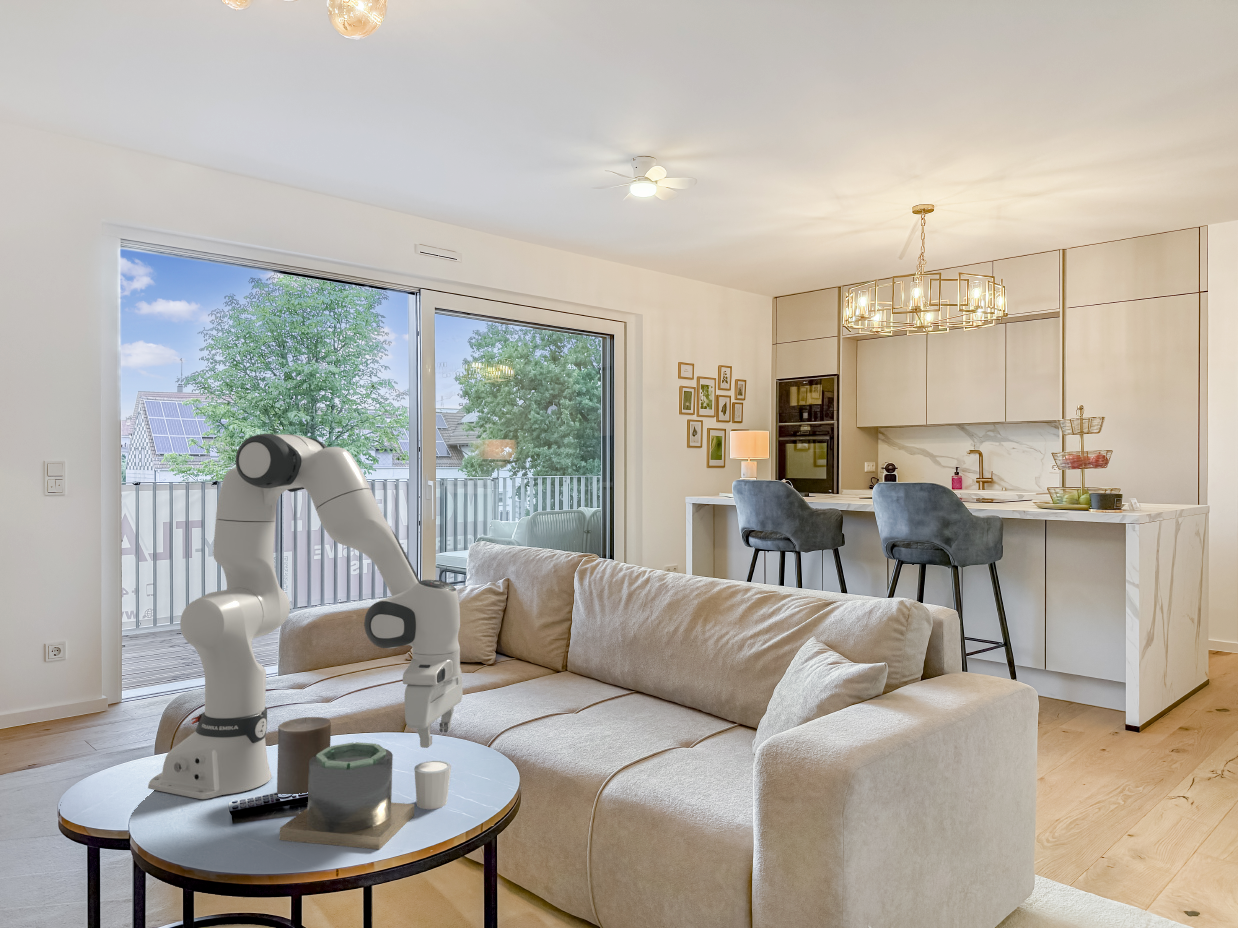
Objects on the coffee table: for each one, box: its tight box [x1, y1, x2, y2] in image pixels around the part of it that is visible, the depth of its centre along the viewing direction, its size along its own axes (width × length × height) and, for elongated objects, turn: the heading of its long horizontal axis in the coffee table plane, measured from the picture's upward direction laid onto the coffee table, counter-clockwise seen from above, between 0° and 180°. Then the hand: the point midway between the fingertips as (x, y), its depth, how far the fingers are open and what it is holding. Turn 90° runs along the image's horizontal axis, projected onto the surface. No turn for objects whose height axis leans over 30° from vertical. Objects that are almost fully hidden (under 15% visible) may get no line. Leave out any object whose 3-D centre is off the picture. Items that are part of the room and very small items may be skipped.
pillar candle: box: [276, 716, 332, 795], centre depth 154 cm, size 10×10×15 cm
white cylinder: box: [414, 760, 452, 810], centre depth 151 cm, size 7×7×7 cm
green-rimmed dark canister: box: [279, 741, 415, 850], centre depth 140 cm, size 18×14×13 cm
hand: (435, 738), depth 151 cm, fingers open, 8 cm apart
